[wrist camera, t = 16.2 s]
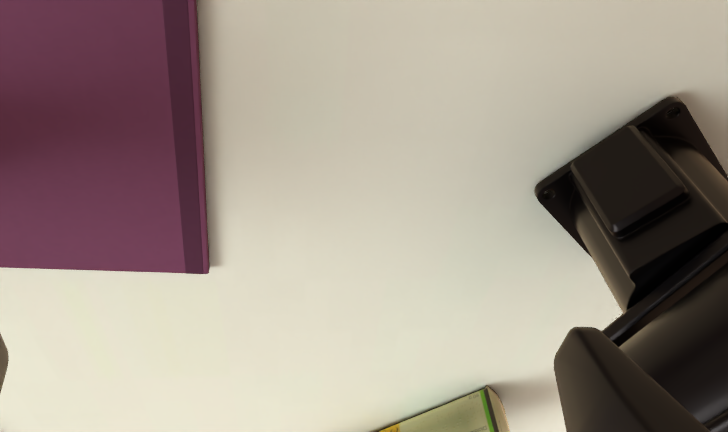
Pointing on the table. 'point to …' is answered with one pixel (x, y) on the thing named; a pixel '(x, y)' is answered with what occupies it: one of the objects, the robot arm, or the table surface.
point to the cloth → (101, 136)
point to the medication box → (460, 416)
